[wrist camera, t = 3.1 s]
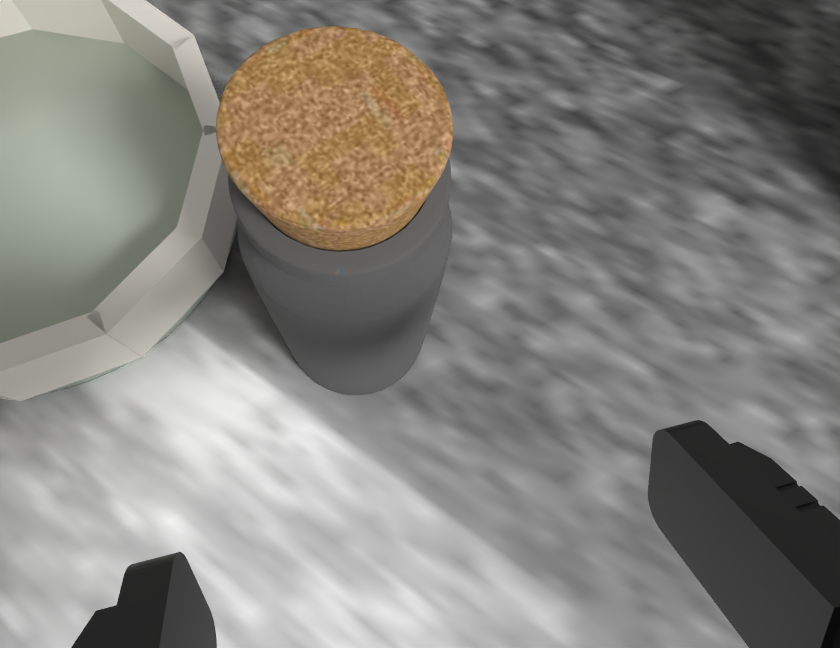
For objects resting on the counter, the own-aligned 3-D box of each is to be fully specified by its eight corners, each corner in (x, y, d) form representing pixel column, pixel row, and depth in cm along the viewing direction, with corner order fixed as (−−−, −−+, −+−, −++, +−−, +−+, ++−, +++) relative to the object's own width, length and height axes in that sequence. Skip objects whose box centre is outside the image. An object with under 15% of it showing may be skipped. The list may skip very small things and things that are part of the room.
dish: (177, -7, 31) (149, -80, 27) (297, 305, 26) (284, 271, 23) (-213, 93, 27) (-308, 27, 24) (-150, 467, 23) (-253, 460, 19)
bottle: (273, 288, 27) (155, 33, 12) (399, 252, 27) (428, -23, 13) (309, 415, 25) (224, 294, 11) (442, 372, 26) (525, 210, 12)
